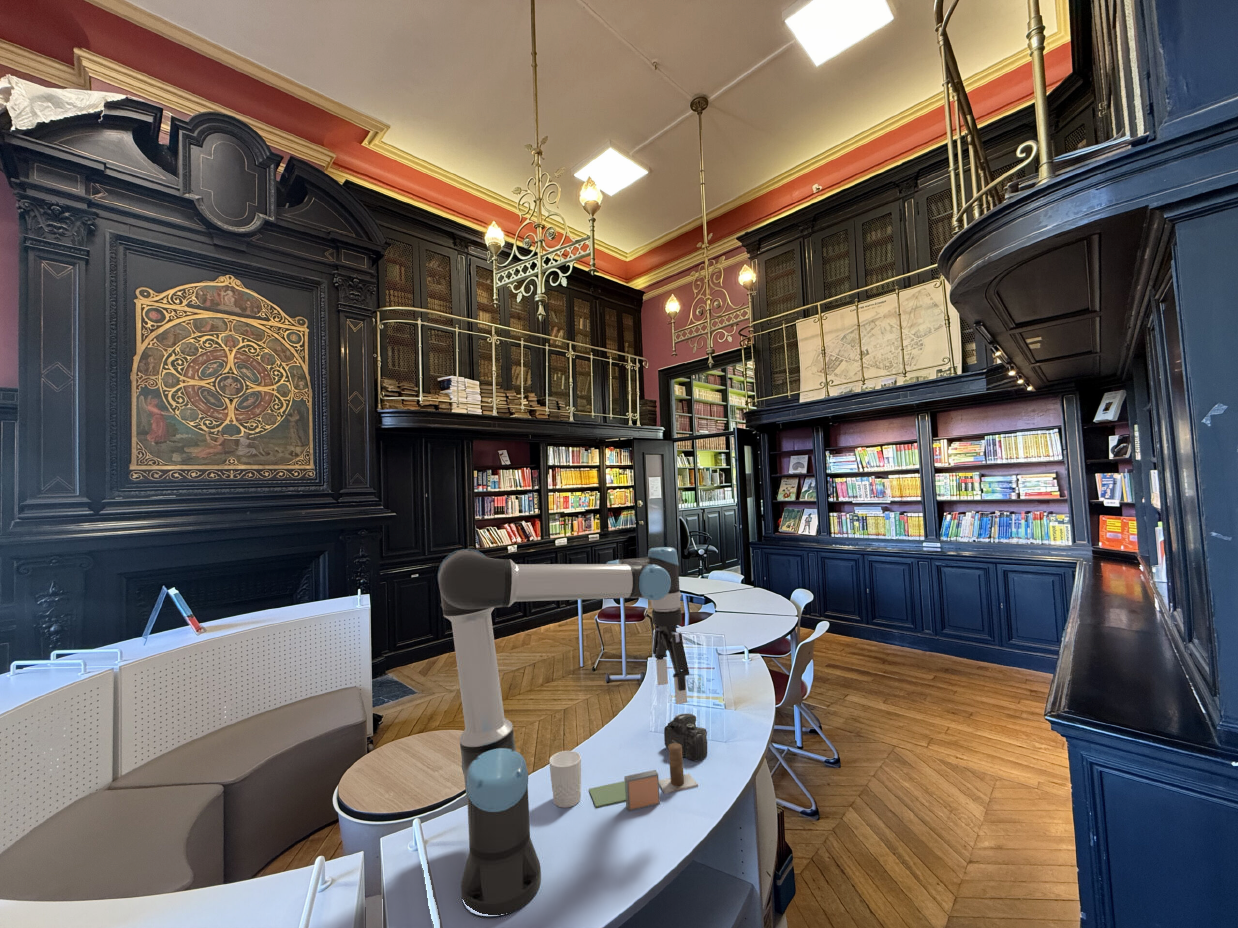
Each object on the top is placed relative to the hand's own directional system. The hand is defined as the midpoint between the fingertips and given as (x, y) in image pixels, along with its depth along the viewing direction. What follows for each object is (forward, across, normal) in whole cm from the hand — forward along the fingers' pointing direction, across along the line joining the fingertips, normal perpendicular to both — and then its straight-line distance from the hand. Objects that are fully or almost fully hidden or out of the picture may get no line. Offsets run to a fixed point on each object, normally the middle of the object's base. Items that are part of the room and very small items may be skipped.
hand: (671, 693), depth 129 cm
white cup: (+24, +6, +27) cm, 37 cm away
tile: (+24, -2, +10) cm, 26 cm away
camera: (+24, +18, -10) cm, 32 cm away
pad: (+24, +5, +16) cm, 29 cm away
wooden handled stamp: (+24, +3, -1) cm, 24 cm away
